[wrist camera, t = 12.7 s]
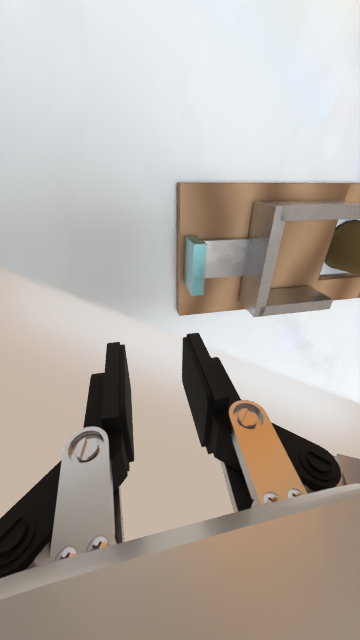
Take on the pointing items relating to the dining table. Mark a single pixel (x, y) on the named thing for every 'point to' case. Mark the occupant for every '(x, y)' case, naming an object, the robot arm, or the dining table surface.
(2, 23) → the dining table surface
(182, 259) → the board
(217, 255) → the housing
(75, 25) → the dining table surface
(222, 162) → the dining table surface
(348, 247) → the olive tapered rounded piece
